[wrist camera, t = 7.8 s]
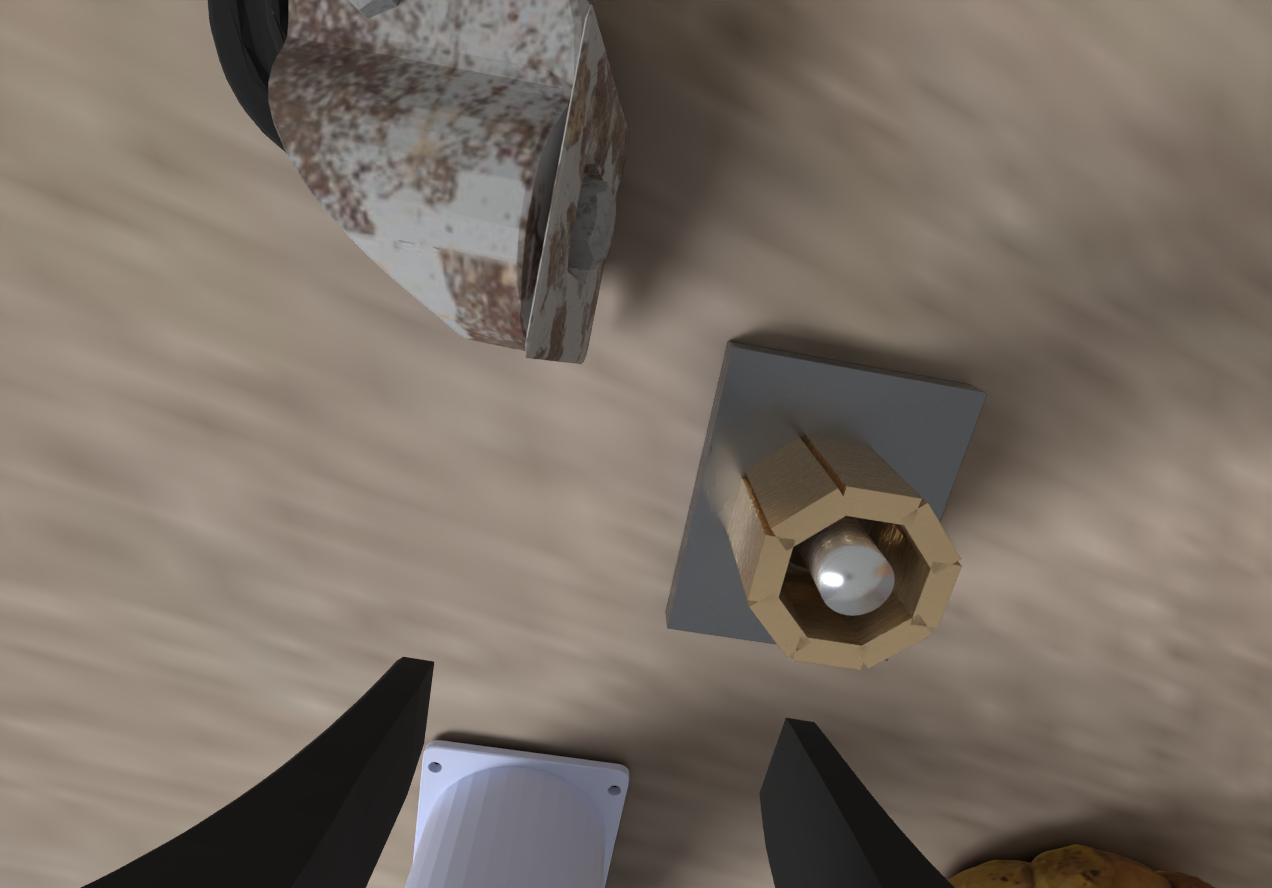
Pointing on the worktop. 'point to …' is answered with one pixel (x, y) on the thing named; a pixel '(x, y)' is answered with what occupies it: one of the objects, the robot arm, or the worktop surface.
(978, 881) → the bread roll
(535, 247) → the caster wheel
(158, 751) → the worktop surface
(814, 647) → the hub ring
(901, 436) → the stub shaft
